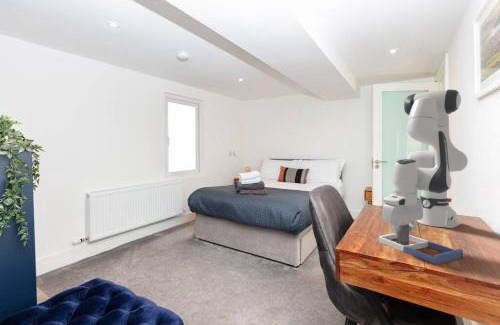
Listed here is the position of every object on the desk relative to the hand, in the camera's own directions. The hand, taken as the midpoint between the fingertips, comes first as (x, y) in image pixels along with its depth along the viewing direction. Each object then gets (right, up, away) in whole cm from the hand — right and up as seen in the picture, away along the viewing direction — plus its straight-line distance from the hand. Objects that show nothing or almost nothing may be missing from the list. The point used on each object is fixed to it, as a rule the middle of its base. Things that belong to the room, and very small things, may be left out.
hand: (402, 231), depth 105 cm
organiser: (+2, -5, -5) cm, 8 cm away
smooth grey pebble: (0, -5, +1) cm, 5 cm away
